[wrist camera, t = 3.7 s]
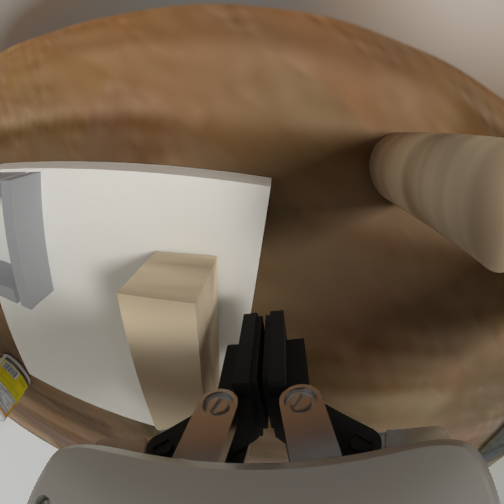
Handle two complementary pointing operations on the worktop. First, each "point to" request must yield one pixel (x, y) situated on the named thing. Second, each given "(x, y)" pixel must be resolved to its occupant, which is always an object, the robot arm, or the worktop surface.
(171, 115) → the worktop surface
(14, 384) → the supplement bottle
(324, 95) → the worktop surface
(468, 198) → the loose leg
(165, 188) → the white board with frame
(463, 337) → the worktop surface
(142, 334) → the beige angular block
